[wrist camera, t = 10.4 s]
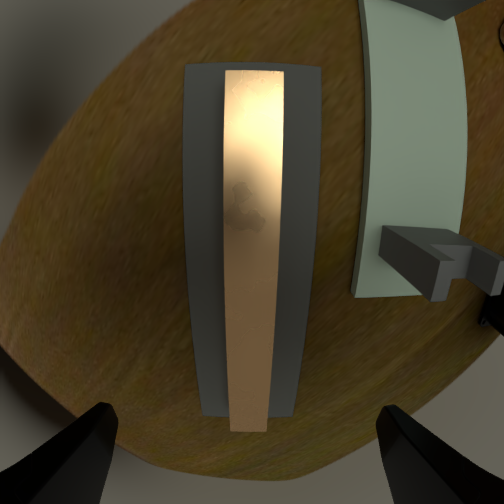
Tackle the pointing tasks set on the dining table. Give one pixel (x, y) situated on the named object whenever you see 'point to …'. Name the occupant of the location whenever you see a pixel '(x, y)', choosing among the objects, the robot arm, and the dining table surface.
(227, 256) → the copper rail
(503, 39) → the pastry
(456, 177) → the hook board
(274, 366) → the rubber mat
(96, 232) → the dining table surface
